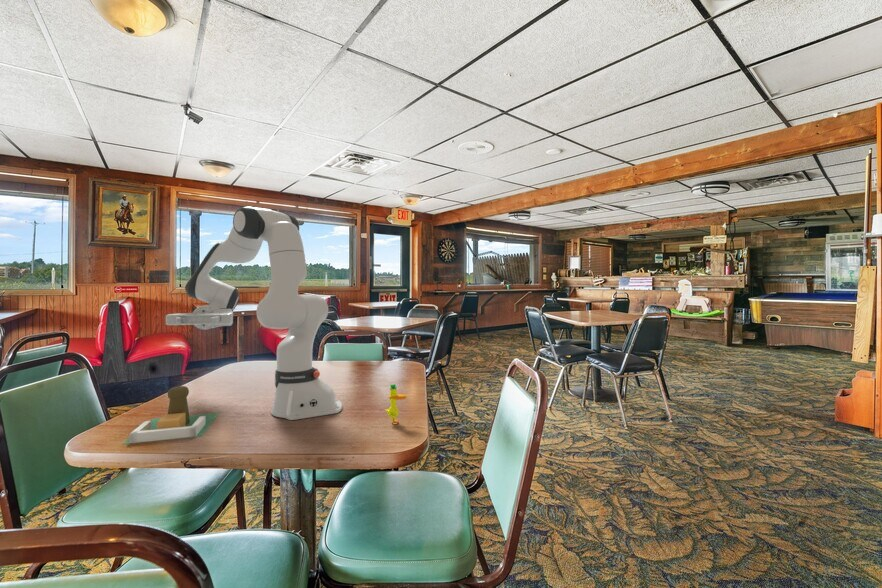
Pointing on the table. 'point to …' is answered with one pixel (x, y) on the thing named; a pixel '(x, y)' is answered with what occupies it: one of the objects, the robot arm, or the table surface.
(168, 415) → the yellow block
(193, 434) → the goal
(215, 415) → the mat
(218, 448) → the table surface
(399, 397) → the toy figure
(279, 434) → the table surface
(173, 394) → the cork
